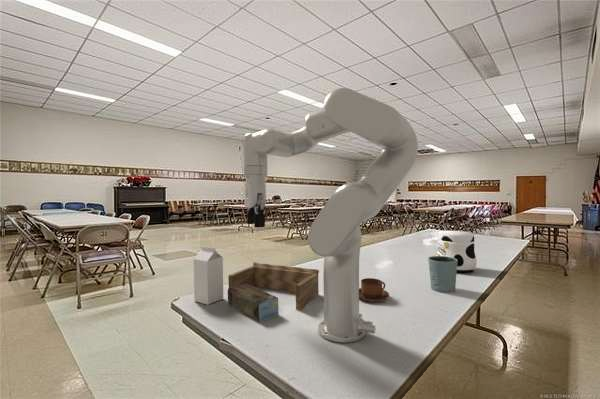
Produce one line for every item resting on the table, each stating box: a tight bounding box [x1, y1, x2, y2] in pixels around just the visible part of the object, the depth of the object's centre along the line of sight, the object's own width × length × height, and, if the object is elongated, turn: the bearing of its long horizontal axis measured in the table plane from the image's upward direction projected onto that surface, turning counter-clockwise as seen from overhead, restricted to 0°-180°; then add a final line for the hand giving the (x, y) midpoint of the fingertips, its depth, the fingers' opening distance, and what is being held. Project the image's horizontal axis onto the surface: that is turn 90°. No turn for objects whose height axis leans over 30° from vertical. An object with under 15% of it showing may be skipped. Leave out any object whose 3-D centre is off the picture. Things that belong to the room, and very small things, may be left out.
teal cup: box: [427, 255, 458, 294], centre depth 112 cm, size 10×10×12 cm
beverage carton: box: [227, 284, 279, 323], centre depth 94 cm, size 8×19×6 cm, turn 43°
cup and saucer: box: [359, 277, 390, 303], centre depth 104 cm, size 12×12×6 cm
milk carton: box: [193, 245, 224, 306], centre depth 103 cm, size 7×7×19 cm
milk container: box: [435, 230, 478, 273], centre depth 141 cm, size 17×17×18 cm
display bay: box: [227, 261, 320, 311], centre depth 107 cm, size 29×16×9 cm, turn 64°
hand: (255, 225), depth 94 cm, fingers open, 9 cm apart
